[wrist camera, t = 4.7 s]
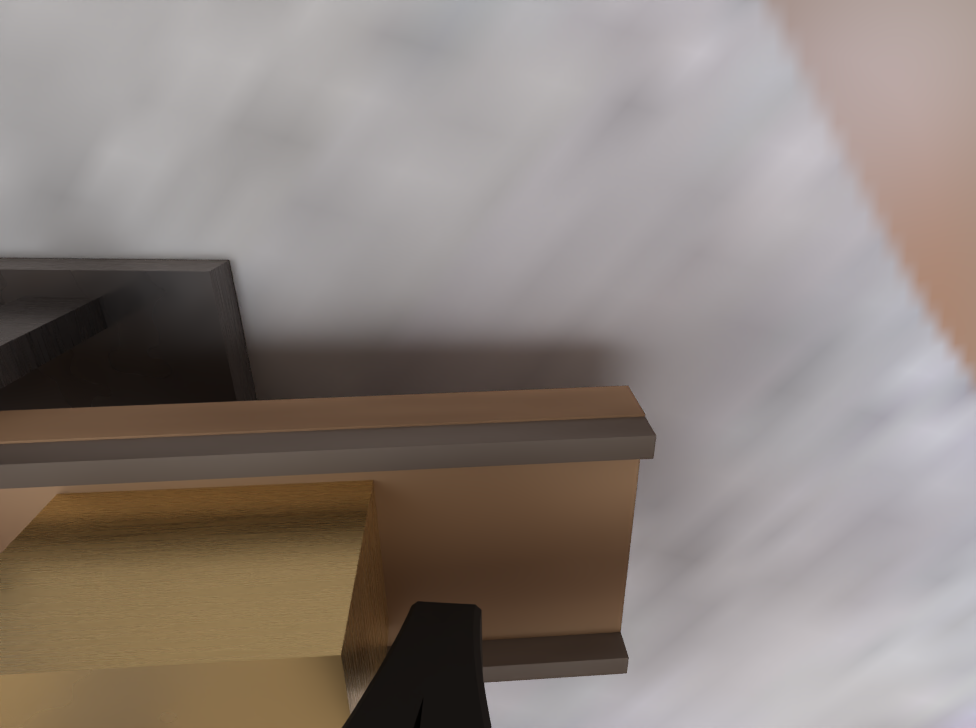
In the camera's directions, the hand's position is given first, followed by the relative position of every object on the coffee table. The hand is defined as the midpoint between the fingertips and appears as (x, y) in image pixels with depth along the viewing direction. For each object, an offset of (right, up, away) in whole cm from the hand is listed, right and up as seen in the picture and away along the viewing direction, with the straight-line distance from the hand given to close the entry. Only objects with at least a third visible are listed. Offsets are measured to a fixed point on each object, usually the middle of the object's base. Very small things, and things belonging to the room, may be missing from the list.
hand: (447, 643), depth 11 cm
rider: (-5, +1, +2) cm, 5 cm away
